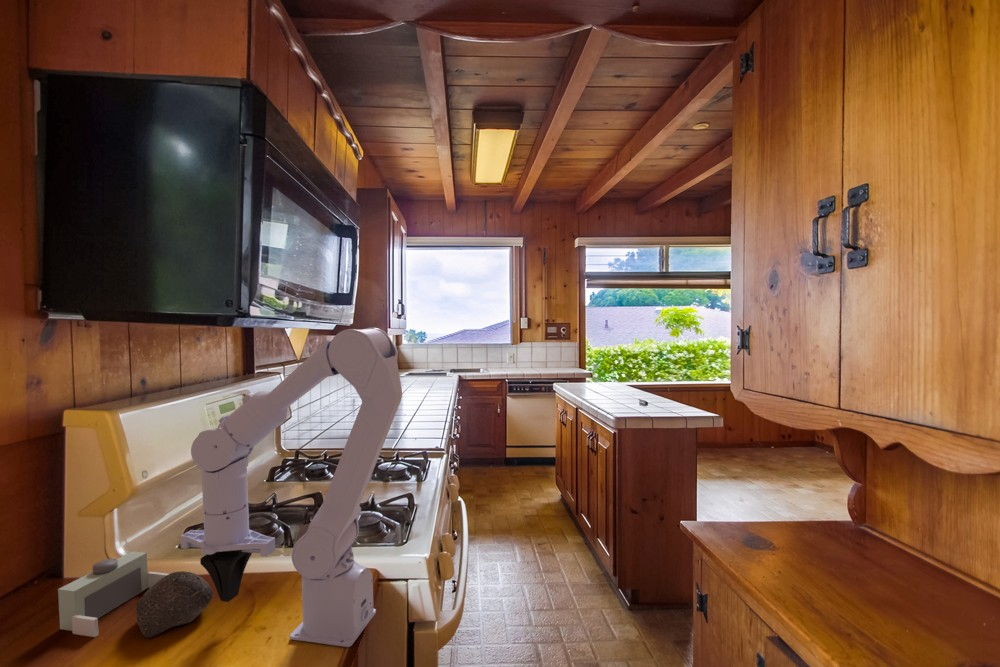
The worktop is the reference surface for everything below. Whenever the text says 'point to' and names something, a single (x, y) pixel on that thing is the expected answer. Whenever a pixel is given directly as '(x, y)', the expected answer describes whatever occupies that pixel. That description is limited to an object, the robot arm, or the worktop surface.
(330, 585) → the robot arm
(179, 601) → the stone
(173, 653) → the worktop surface
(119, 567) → the digital alarm clock
